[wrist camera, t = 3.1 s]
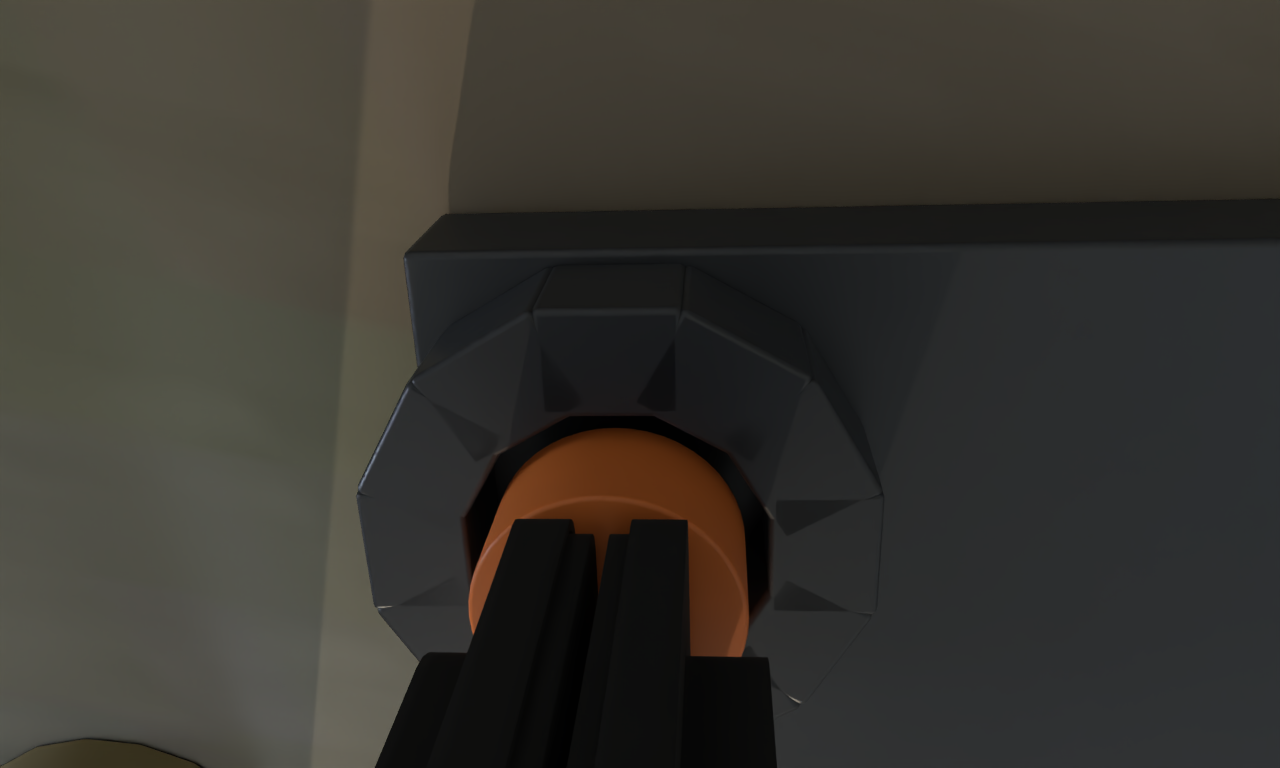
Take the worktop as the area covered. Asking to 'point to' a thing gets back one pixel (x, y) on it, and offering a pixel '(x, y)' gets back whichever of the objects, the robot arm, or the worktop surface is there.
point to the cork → (96, 756)
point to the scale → (894, 456)
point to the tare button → (635, 489)
